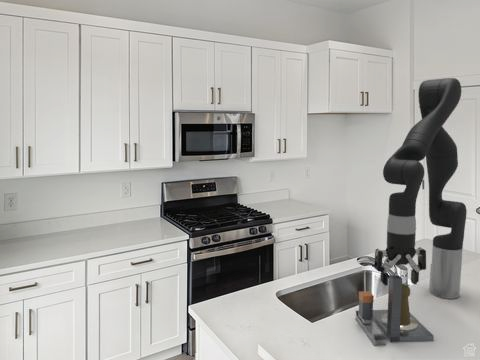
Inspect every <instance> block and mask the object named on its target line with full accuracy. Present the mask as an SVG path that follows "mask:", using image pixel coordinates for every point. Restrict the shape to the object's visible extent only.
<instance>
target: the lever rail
mask: <svg viewBox="0 0 480 360" xmlns="http://www.w3.org/2000/svg"><path fill="white" fill-rule="evenodd" d="M358 312H359V309H358V310H355V320H356V321H357V323H358V325H359V326H360V327H361V328H362V330H363V331H364V333H365V334H366V335H367V338H369V340H370V341H371V343H372V345H374V346H386V343H387V337H386V335H385V334H384V333H381V332H380V331H379V330H378V328H377V327H376V326H375V324H374V323H373V324H364V323H363V322H362V320H361V319H360V317H359V316H358Z"/></svg>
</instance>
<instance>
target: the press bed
mask: <svg viewBox="0 0 480 360" xmlns="http://www.w3.org/2000/svg"><path fill="white" fill-rule="evenodd" d="M402 284H403V277H401V276H400V275H397V274H396V275H395V274H394V275H393V274H388V296H387V298H388V299H387V309H373V316H372V320H373V323H375V325H376V326H377V327H378V328H379V330H380V331H381V332H382V334H385V335H386V339H387V340H388V341H389V342H390V343H402V342H403V343H404V342H405V343H407V342H408V343H409V342H434V341H435V340H434V337H435V336H434V334H432V332H431V331H429V329H427V328H426V327H425V325H423V324H422V323H421V322H420V321H419V320H418V319H417V318H416V317H415V316H414V315H413V314H412V313H411V312H410V324H409V325H407V326H400V319H401V297H402Z"/></svg>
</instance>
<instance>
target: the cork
mask: <svg viewBox="0 0 480 360" xmlns="http://www.w3.org/2000/svg"><path fill="white" fill-rule="evenodd" d="M410 296H411V288H410V286H409V285H407V284H404V283H402V297H401V319H400V326H407V325H409V324H410V313H411V312H410V304H409V303H410V302H409V297H410Z"/></svg>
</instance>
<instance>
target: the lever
mask: <svg viewBox="0 0 480 360" xmlns="http://www.w3.org/2000/svg"><path fill="white" fill-rule="evenodd" d="M374 299H375V297H374V295H373V293H372V292H371V291H370V290H369V291H368V290H367V291H366V290H363V291H359V292H358V300H359V301H358V310H359V312H358V316H359V317H360V319H361V320H362V322H363V323H364V324H374V321H373V319H372V316H373V310H374V302H375V301H374Z"/></svg>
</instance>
